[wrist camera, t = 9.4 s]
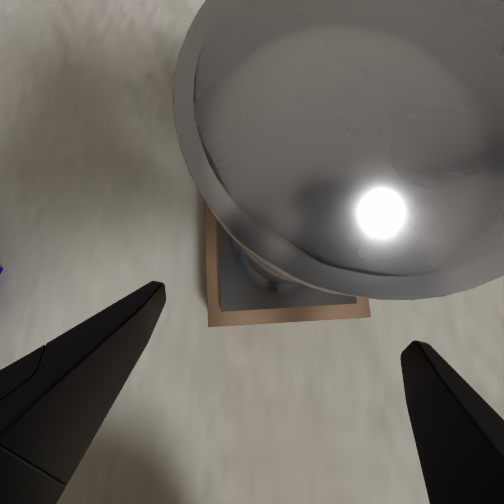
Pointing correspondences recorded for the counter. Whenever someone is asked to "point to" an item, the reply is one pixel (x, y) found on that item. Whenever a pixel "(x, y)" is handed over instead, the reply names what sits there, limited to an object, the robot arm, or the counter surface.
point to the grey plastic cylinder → (350, 141)
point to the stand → (262, 291)
